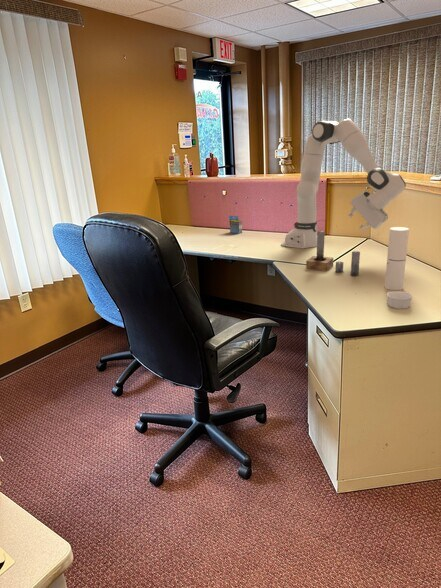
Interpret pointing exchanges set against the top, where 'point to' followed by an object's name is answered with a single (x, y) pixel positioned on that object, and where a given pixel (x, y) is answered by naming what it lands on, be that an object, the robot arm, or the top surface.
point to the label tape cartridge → (235, 225)
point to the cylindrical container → (396, 258)
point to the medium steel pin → (355, 263)
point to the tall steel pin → (320, 245)
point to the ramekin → (399, 299)
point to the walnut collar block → (319, 263)
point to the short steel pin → (339, 267)
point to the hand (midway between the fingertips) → (354, 222)
